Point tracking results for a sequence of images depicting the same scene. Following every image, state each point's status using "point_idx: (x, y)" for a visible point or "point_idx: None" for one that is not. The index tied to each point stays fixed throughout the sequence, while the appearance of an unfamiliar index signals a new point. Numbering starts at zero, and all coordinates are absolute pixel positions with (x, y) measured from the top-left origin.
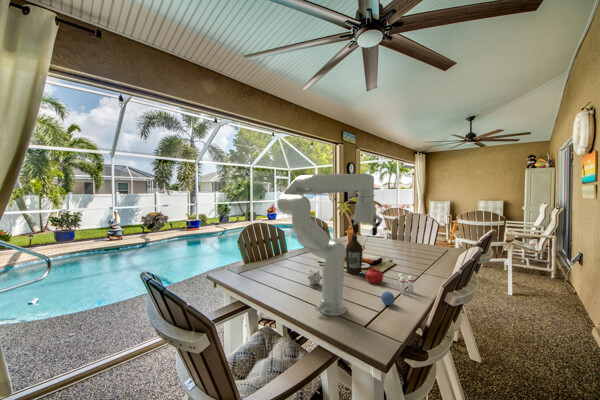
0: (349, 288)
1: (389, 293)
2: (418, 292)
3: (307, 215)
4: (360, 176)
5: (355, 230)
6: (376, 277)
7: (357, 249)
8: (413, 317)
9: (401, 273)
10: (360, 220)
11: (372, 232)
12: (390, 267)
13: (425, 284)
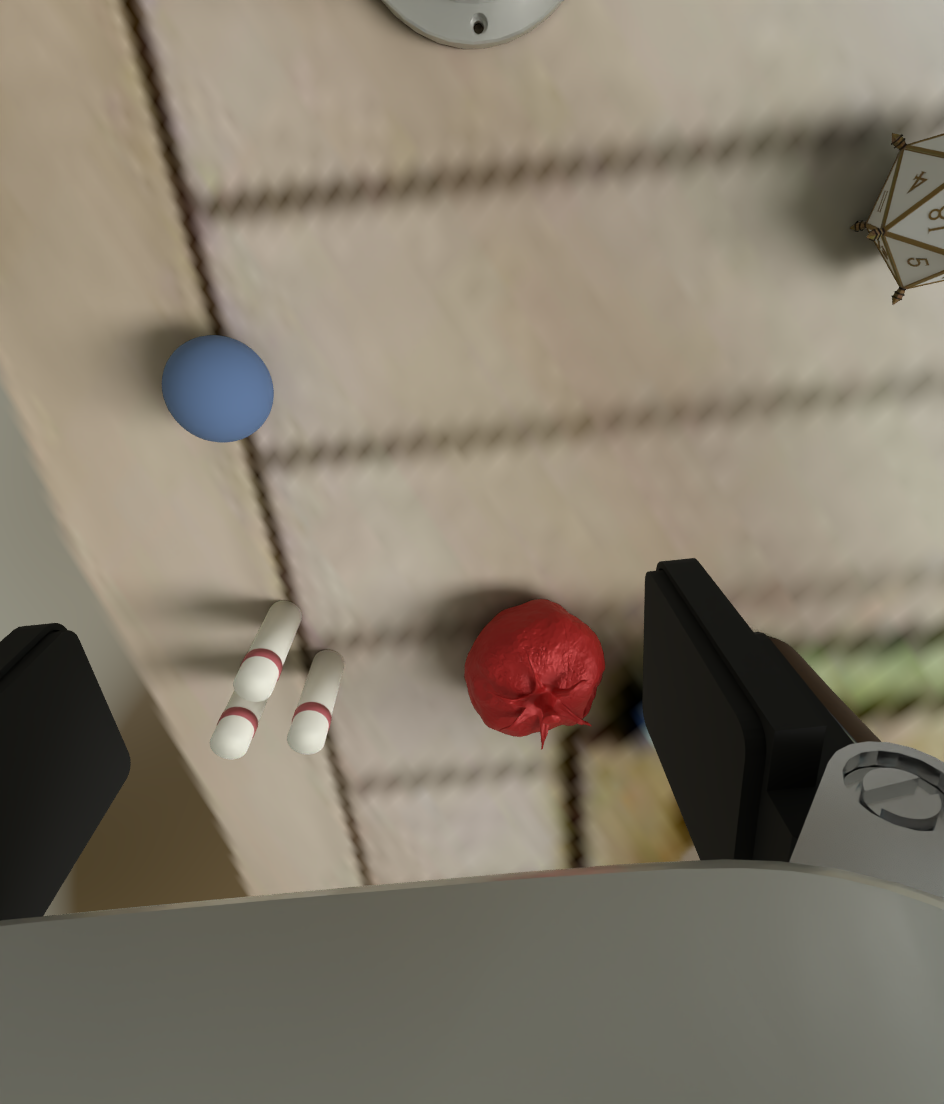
0: (603, 398)
1: (183, 391)
2: None
3: None
4: None
5: (685, 605)
6: (489, 639)
7: None
8: (13, 341)
9: (313, 751)
10: (362, 1029)
11: (8, 681)
12: None
13: (276, 825)
